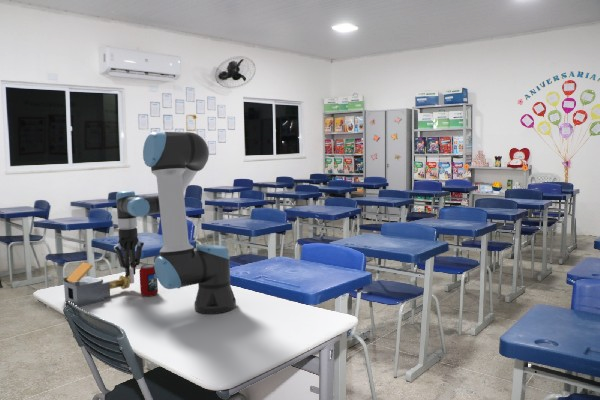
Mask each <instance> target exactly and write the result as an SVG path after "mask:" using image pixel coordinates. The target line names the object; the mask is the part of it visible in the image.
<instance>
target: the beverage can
mask: <svg viewBox="0 0 600 400" xmlns="http://www.w3.org/2000/svg"><path fill="white" fill-rule="evenodd" d="M138 273H139V287H140V295H142V296H143V297H154V296H155V295H156V294H158V293H159V289H158V287H159V285H158V284H159V283H158V278H157V276H156V273H155V268H154V264H152V263H151V264H150V263H149V264H147V263H146V264H143V265H141V266H140V268H139V272H138Z"/></svg>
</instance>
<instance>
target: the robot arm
mask: <svg viewBox="0 0 600 400" xmlns="http://www.w3.org/2000/svg"><path fill="white" fill-rule="evenodd" d="M142 149H143V150H142V159H143V161H144V164H145V166H146V167H149V168H150V173H151V174H153V175H154V176H155V178H156V184H157V193H158V195H149V196H148V195H147V196H138V197H137V196H136V192H135V191H134V190H123V191H121V190H120V191H118V192H116V199H115V202H116V215H117V227H118V229H117V231H118V243H117V244H116V245H114V246H113V247H112V248H113V250H114V251H115V253H116V257H117V260H118V263H119V266H120V267H121V268H123V269H124V271H125V273H124V275H127V276H128V277H129V280H130V285H132V284H135V275H136V268H137V266H139V265H140V262H141V257H142V250H143V247H144V245H145V243H144V241H143V242H142V241H140V239H139V238H138V228H137V226H138V221H137V218H139V217H140V218H142V217H144V216H148V215H157V214H160V216H159V217H160V222H161V223H160V224H161V235H162V243H163V244H162V247H161V248H160V250H159V256H157V257H156V258H155V260H154V264H153V265H154V268H155V273H156V276H157V282H159V284H160V285H161V286H162V287H163V288H164V289H167V290H173V289H181V288H184V287H188V286H194V285H197V284H198V286H197V287H198V289H197V293H196V297H195V301H194V304H193V305H194V306H193V307H194V311H195V312H197V313H200V314H207V315H208V314H209V315H211V314H222V313H227V312H230V311H232V310H234V309H235V308H236V307H237V300H236V297H235V294H234V292H233V288H232V287H231V268H230V267H231V265H230V264H231V263H230V260H231V258H230V251H229V249H228V247H226V246H223V245H217V244H200V245H199V244H198V245H196V248H195V247H194V245H192V244H191V243H190V242H189V230H188V221H187V212H186V204H185V203H186V201H185V191H186V190H187V188H188V187H189V185H190V183H191V182H192V180H193V179H194V178H195V176H196V175H197V173H198V172H200V171H202V170H203V169H204V168H205V166H206V164H207V163H208V161H209V156H210V155H209V154H210V150H209V146H208V144H207V142H206V140H205V139H204V138H203V137H202V136H200V135H199V134H197V133H194V132H192V131H190V132H189V131H186V132H183V131H181V132H180V131H156V132H151V133H149V134H148V136H146V138H145V140H144V145H143V148H142ZM121 249H122V250H121Z"/></svg>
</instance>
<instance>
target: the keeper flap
mask: <svg viewBox="0 0 600 400" xmlns="http://www.w3.org/2000/svg"><path fill="white" fill-rule="evenodd" d="M93 267H94V265H93V264H90V263H87V262H84V261H83V262H81V263H80V264H79V266H77V267H76V268H75V270H74V271H73V272H72V273H71V274H70V275H69V276H67V277H68V278H67V279H66V280H67V281H69V282H72V283H74V282H75V281H80V280H81V278H82V277H85V276H86V274H87V273H88V272H89V271H90V270H91V269H92V268H93Z"/></svg>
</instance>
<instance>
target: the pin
mask: <svg viewBox="0 0 600 400" xmlns="http://www.w3.org/2000/svg"><path fill="white" fill-rule="evenodd" d="M108 282H109V283H110V290H113V289H117V288H121V289H122V290H126V289H130V285H131V284H130V280H129V277H128V276H127V275H126V274H123V275H120V276H119V278H118V279H113V280H110V281H108Z"/></svg>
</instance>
